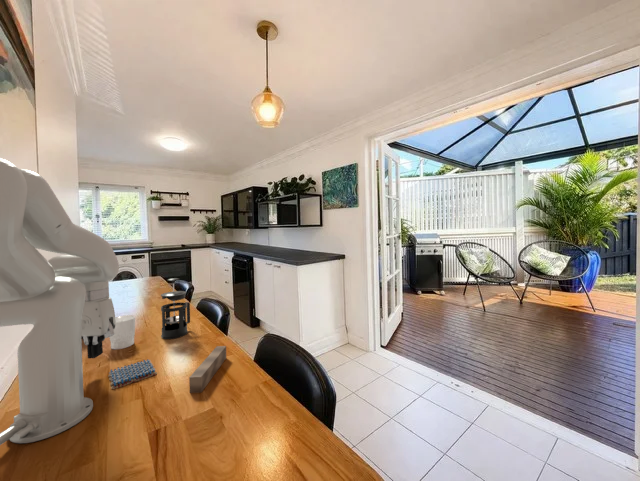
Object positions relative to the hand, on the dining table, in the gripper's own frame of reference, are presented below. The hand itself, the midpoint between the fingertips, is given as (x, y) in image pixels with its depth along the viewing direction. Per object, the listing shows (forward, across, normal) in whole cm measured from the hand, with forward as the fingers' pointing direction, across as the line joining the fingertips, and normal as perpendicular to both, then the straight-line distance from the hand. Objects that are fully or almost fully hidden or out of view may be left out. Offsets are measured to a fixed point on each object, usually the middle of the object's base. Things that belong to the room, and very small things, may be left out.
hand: (95, 355), depth 74 cm
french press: (+6, +8, +29) cm, 30 cm away
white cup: (+6, -6, +19) cm, 21 cm away
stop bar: (+5, +34, -1) cm, 34 cm away
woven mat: (+6, +12, -1) cm, 13 cm away
